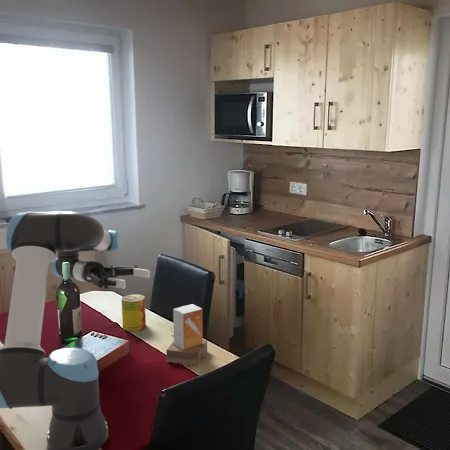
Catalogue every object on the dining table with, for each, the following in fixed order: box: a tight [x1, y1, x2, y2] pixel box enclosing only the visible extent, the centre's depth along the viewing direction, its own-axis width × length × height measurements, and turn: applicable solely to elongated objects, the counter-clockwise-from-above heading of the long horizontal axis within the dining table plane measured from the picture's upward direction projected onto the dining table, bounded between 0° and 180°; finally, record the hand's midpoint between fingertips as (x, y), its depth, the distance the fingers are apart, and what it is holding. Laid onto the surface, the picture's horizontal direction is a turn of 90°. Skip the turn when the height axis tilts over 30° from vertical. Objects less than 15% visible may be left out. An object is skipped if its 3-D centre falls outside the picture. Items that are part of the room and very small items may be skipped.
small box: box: [172, 303, 204, 350], centre depth 177 cm, size 8×6×13 cm
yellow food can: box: [121, 293, 147, 332], centre depth 203 cm, size 9×9×12 cm
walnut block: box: [166, 339, 208, 367], centre depth 178 cm, size 11×11×5 cm
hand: (137, 279), depth 176 cm, fingers open, 13 cm apart
